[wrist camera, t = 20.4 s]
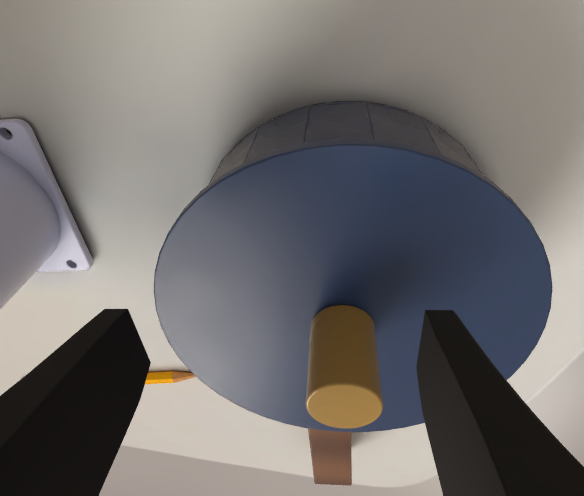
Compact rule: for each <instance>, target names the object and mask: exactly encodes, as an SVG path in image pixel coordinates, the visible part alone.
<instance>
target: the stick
mask: <svg viewBox="0 0 584 496" xmlns="http://www.w3.org/2000/svg"><path fill="white" fill-rule="evenodd" d="M308 431H309V440H310V448H311V457H312V465H313V474H314V482H315V484H331V485H351V484H352V472H351V432H337V431H324V430H317V429H310V428H308Z"/></svg>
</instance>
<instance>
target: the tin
mask: <svg viewBox="0 0 584 496" xmlns="http://www.w3.org/2000/svg"><path fill="white" fill-rule="evenodd" d="M333 139H374V140H381V141H388V142H396V143H403V144H407V145H411V146H415V147H418V148H422V149H426V150H429V151H433V152H436V153H439V154H441V155H443V156H446V157H448V158H450V159H453V160H455V161H458V162H460V163H462V164H465V165H466V166H468V167H469V168H471V169H473V170H474V171H476V172H478V173H479V174H481V175H482V173H481V172H480V170H479V169H478V167H477V166H476V164H475V163H474V161H473V160H472V158H471V157H470V155H469V154H468V152H467V151H466V149H465V148H464V147H463V146H462V145H461V144H460V143H458V142H457V141H455V140H454V139H453V138H452V137H451V136H450V135H448V134H447V133H446V132H445V131H444V130H442V129H441V128H439V127H437V126H436V125H434V124H433V123H431V122H429V121H428V120H426V119H424V118H422V117H420V116H417V115H415V114H413V113H410V112H408V111H406V110H402V109H399V108H395V107H392V106H388V105H384V104H378V103H370V102H363V101H336V102H328V103H320V104H314V105H310V106H307V107H303V108H299V109H295V110H292V111H290V112H288V113H285V114H283V115H281V116H278V117H276V118H273V119H272V120H270V121H268V122H267V123H265V124H263V125H262V126H260V127H258V128H256V129H255V130H254V131H252V132H251V133H250V134H249V135H247V136H246V137H245V138H244V139H242V140H241V141H240V142H239V143H238V144H237V145H236V146H235V147H234V148H233V150H232V151H231V152H230V153H229V154H227V155H226V156H225V157H224V159H223V160H222V161H221V163H220V165H219V167H218V169H217V170H216V172H215V174H214V176H213V178H212V180H211V182H210V183H209V185H210V184H211V183H212V182H214V181H215V180H216V179H217V178H219V177H220V176H221V175H223V174H225V173H227V172H228V171H230V170H232V169H234V168H235V167H237V166H239V165H241V164H243V163H244V162H246V161H249V160H251V159H254V158H256V157H259V156H261V155H264V154H266V153H269V152H272V151H274V150H278V149H282V148H286V147H290V146H294V145H298V144H302V143H307V142H316V141H324V140H333Z"/></svg>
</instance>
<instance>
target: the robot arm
mask: <svg viewBox="0 0 584 496" xmlns="http://www.w3.org/2000/svg"><path fill="white" fill-rule="evenodd" d="M6 128H7V129H8V130H9V131H10V132H11V133H12V136H11V135H10V134H8V132H7V131H6ZM72 261H74V262H75V263H74V262H72ZM92 265H93V259H92V257H91V255H90V253H89V251H88V249H87V246H86V244H85V242H84V240H83V238H82V236H81V233H80V231H79V229H78V227H77V225H76V223H75V220H74V218H73V216H72V214H71V212H70V210H69V207H68V205H67V203H66V201H65V199H64V197H63V195H62V192H61V190H60V188H59V186H58V184H57V182H56V179H55V177H54V175H53V173H52V171H51V169H50V166H49V164H48V162H47V160H46V158H45V156H44V153H43V151H42V149H41V147H40V145H39V143H38V141H37V138H36V136H35V134H34V132H33V130H32V128H31V127H30V125H29V124H28V123H27V122H25V121H23V120H21V119H2V120H0V309H1V308H2V307H3V306H4V305H5V304H6V303H7V302H8V301H9V300H10V299H11V298H12V297H13V296H14V295H15V293H16V292H17V291H18V290H19V289H20V288H21V287H22V286H23V285H24V284H25V283H26V282H27V281H28V280H29V279H30V277H31V276H32V275H33V274H34V273H35V272H46V271H86V270H89V269H90V268H91V266H92ZM150 363H151V362H150V360H149V358H148V355H147V353H146V351H145V348H144V346H143V344H142V341H141V339H140V337H139V334H138V332H137V329H136V327H135V325H134V322H133V320H132V318H131V315H130V313H129V311H128V309H104V310H103V311H102V312H101V313H99V314H98V315H97V316H96V317H94V318H93V319H92V320H91V321H90V322H88V323H87V324H86V325H85V326H84V327H82V328H81V329H80V330H79V331H78V332H77V333H75V334H74V335H73V336H72V337H71V338H70V339H68V340H67V341H66V342H65V343H64V344H63V345H61V346H60V347H59V348H58V349H57V350H56V351H54V352H53V353H52V354H51V355H50V356H48V357H47V358H46V359H45V360H44V361H43V362H41V363H40V364H39V365H38V366H37V367H35V368H34V369H33V370H32V371H31V372H30V373H28V374H27V375H26V376H25V377H24V378H22V379H21V380H20V381H19V382H17V383H16V384H15V385H13V386H12V387H11V388H10V389H8V390H7V391H6V392H5V393H3V394H2V395H1V396H0V496H99V493H100V491H101V489H102V486H103V484H104V482H105V479H106V477H107V475H108V473H109V470H110V468H111V466H112V464H113V461H114V459H115V457H116V454H117V452H118V450H119V448H120V445H121V443H122V441H123V439H124V436H125V434H126V432H127V429H128V427H129V425H130V422H131V420H132V418H133V415H134V413H135V411H136V408H137V406H138V403H139V401H140V398H141V395H142V391H143V388H144V385H145V381H146V378H147V374H148V370H149V367H150ZM416 370H417V377H418V385H419V393H420V400H421V406H422V412H423V416H424V420H425V424H426V428H427V432H428V436H429V440H430V444H431V448H432V452H433V456H434V460H435V464H436V468H437V472H438V476H439V480H440V484H441V488H442V492H443V496H584V467H583V466H582V465H581V464H580V463H579V462H578V461H577V459H575V457H574V456H573V455H571V453H570V452H569V451H568V450H567V449H566V448H565V447H564V446H563V445H562V444H561V443H560V442H559V440H558V439H556V437H555V436H554V435H553V434H552V433H551V432H550V431H549V430H548V428H547V427H546V426H545V425H544V424H543V423H542V422H541V421H540V420H539V418H537V416H536V415H535V414H534V413H533V412H532V411H531V409H530V408H529V407H528V406H527V405H526V403H525V402H524V401H523V400H522V399H521V398H520V396H519V395H518V394H517V393H516V391H515V390H514V389H513V388H512V387H511V385H510V384H509V383H508V382H507V380H506V379H505V378H504V377H503V376H502V374H501V373H500V372H499V371H498V369H497V368H496V367H495V366H494V364H493V363H492V362H491V360H490V359H489V358H488V356H487V355H486V354H485V352H484V351H483V350H482V348H481V347H480V346H479V344H478V343H477V342H476V340H475V339H474V338H473V336H472V335H471V333H470V332H469V331H468V329H467V328H466V326H465V325H464V324H463V322H462V321H461V319H460V318H459V316H458V315H457V314H456V313H455V312H454V311H453V310H425V313H424V320H423V326H422V333H421V340H420V346H419V353H418V359H417V366H416Z"/></svg>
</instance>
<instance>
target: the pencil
mask: <svg viewBox="0 0 584 496" xmlns="http://www.w3.org/2000/svg"><path fill="white" fill-rule="evenodd" d="M193 377H196V376H195V375H194V374H193V373H189V372H180V371H166V372H148V374H147V378H146V381H145V384H157V383H175V382H178V381H182V380H185V379H189V378H193Z"/></svg>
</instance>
